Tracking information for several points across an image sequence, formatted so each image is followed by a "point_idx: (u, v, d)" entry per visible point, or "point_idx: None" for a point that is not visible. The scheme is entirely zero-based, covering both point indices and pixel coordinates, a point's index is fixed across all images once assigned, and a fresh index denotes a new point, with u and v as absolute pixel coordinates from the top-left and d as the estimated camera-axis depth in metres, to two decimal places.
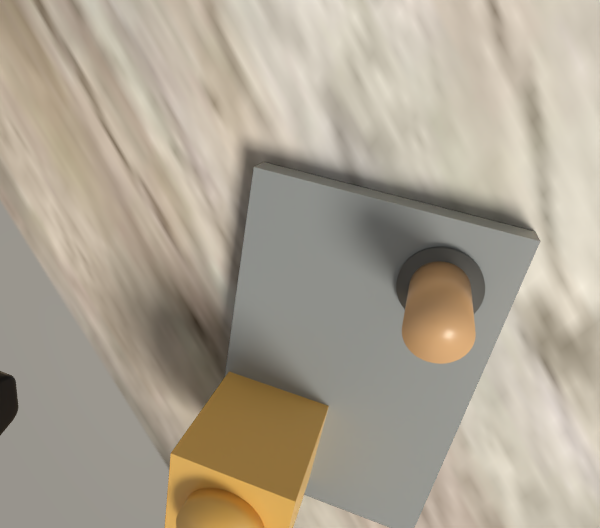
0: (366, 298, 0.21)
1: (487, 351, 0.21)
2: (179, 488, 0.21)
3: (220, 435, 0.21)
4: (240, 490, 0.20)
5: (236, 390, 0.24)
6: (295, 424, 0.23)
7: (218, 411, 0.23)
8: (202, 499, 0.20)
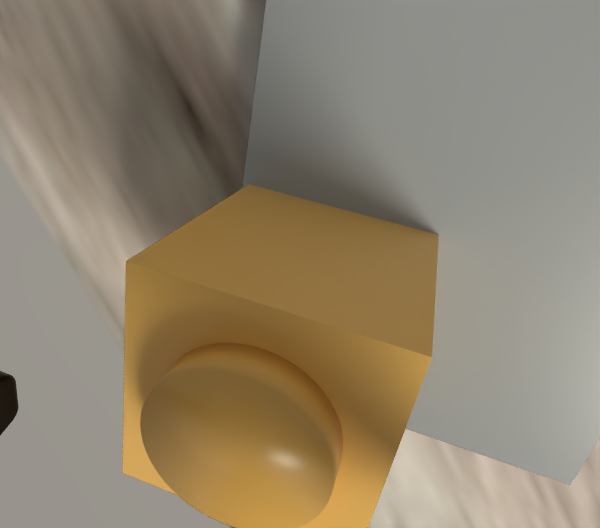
0: None
1: None
2: (149, 354, 0.09)
3: (238, 248, 0.10)
4: (289, 340, 0.08)
5: (265, 203, 0.13)
6: (387, 249, 0.11)
7: (232, 220, 0.11)
8: (199, 362, 0.08)
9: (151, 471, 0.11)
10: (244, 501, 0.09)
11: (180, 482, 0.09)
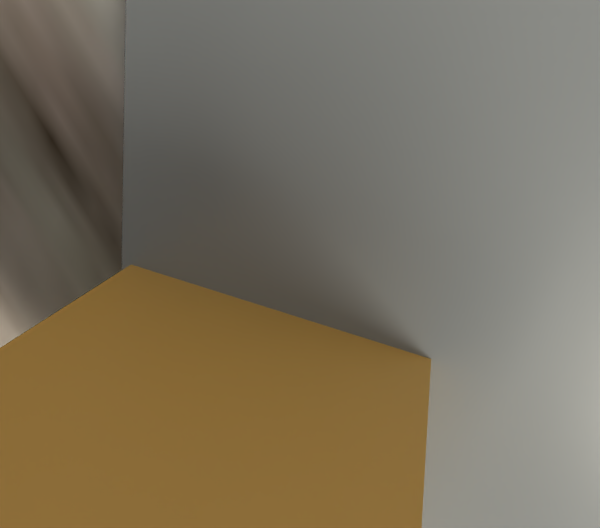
0: None
1: None
2: None
3: (12, 461, 0.05)
4: None
5: (139, 308, 0.08)
6: (334, 414, 0.06)
7: (48, 366, 0.06)
8: None
9: None
10: None
11: None
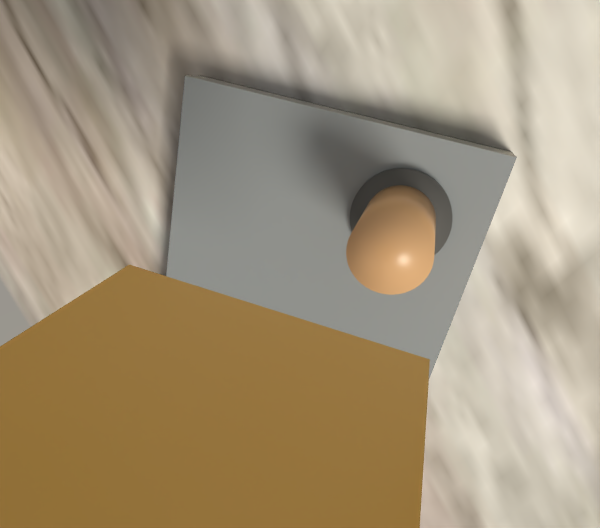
0: (317, 236, 0.18)
1: (456, 297, 0.18)
2: None
3: (8, 462, 0.05)
4: None
5: (137, 308, 0.08)
6: (332, 415, 0.06)
7: (45, 367, 0.06)
8: None
9: None
10: None
11: None
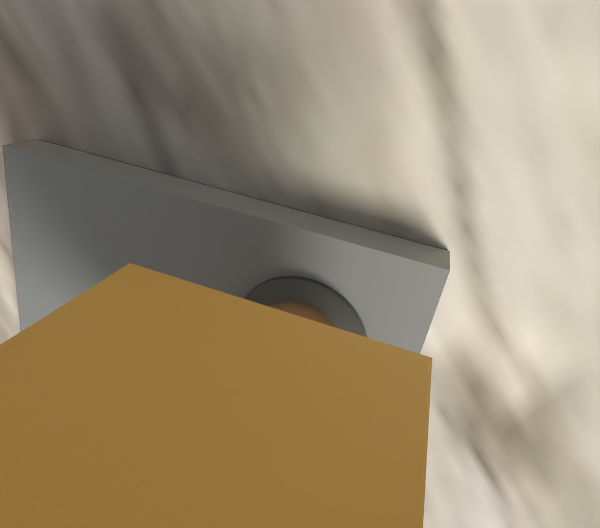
0: None
1: None
2: None
3: (8, 461, 0.05)
4: None
5: (138, 307, 0.07)
6: (334, 413, 0.06)
7: (46, 365, 0.06)
8: None
9: None
10: None
11: None
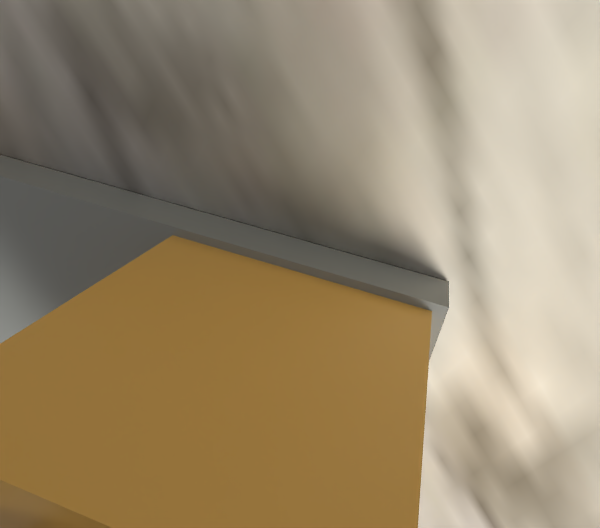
0: None
1: None
2: None
3: (107, 368, 0.06)
4: None
5: (185, 268, 0.09)
6: (352, 346, 0.08)
7: (120, 307, 0.07)
8: None
9: None
10: None
11: None
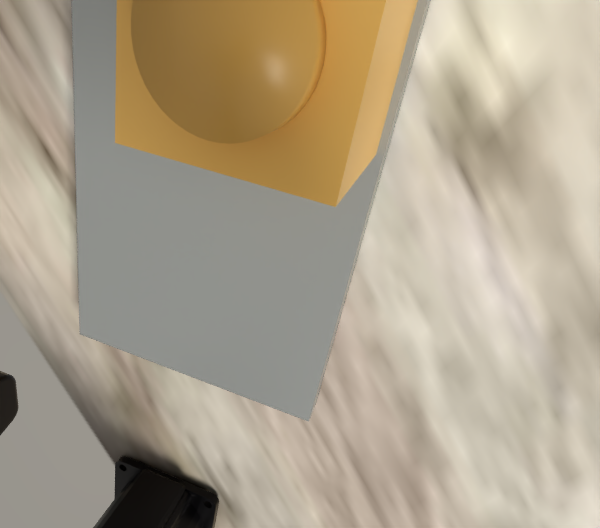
0: None
1: (381, 144, 0.15)
2: None
3: None
4: None
5: None
6: None
7: None
8: None
9: (142, 132, 0.11)
10: (230, 103, 0.09)
11: (169, 95, 0.10)
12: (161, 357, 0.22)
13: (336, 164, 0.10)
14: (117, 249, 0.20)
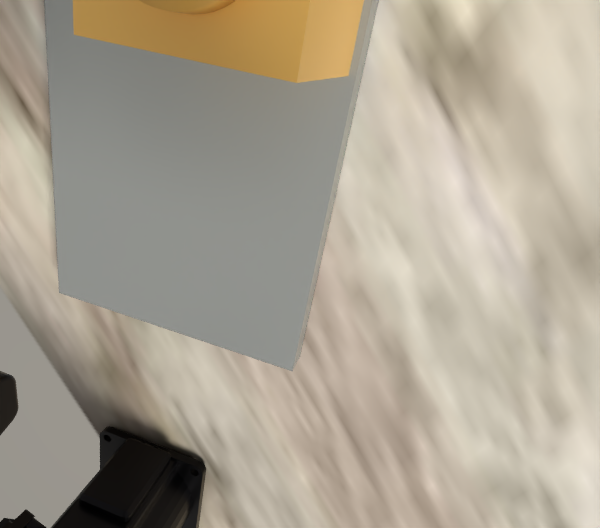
0: None
1: (353, 64, 0.15)
2: None
3: None
4: None
5: None
6: None
7: None
8: None
9: (100, 19, 0.11)
10: None
11: None
12: (141, 312, 0.22)
13: (295, 34, 0.10)
14: (94, 197, 0.20)
